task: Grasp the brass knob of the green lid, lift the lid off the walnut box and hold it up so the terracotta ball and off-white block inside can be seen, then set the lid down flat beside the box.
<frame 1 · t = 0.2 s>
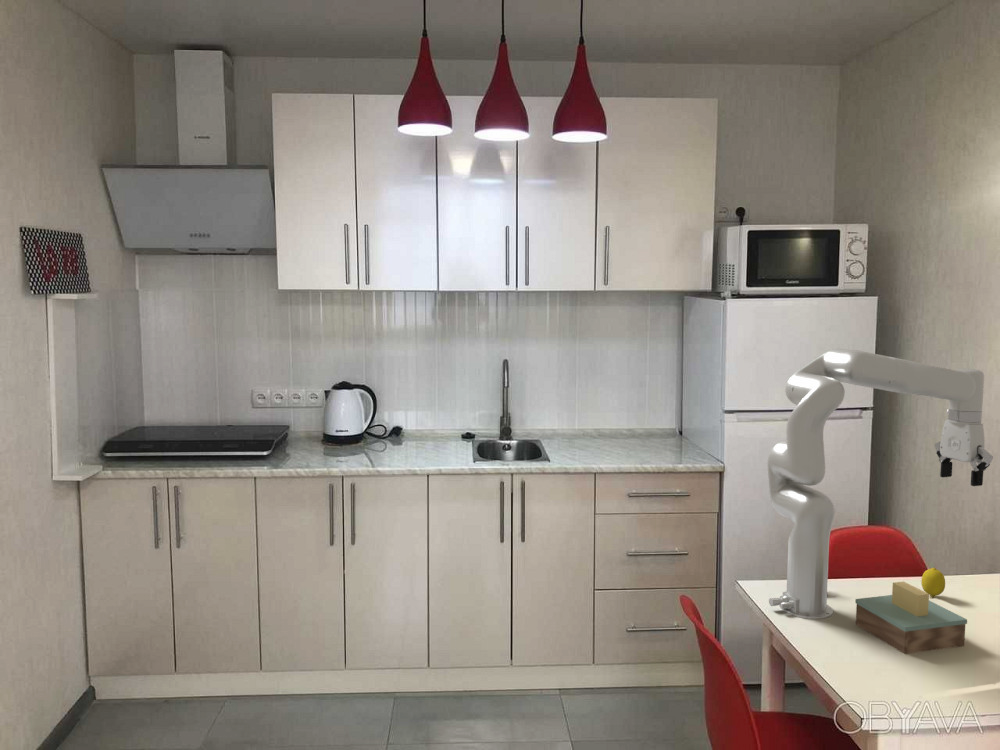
hand: (960, 481, 207), 31 cm above the table, tool pointing down, fingers open, 9 cm apart
box: (908, 637, 185), on the table
block: (932, 639, 182), point 1 cm above the table, touching box
lemon: (932, 597, 209), on the table
ball: (884, 629, 187), point 1 cm above the table, touching box
lid: (909, 613, 184), point 6 cm above the table, touching box
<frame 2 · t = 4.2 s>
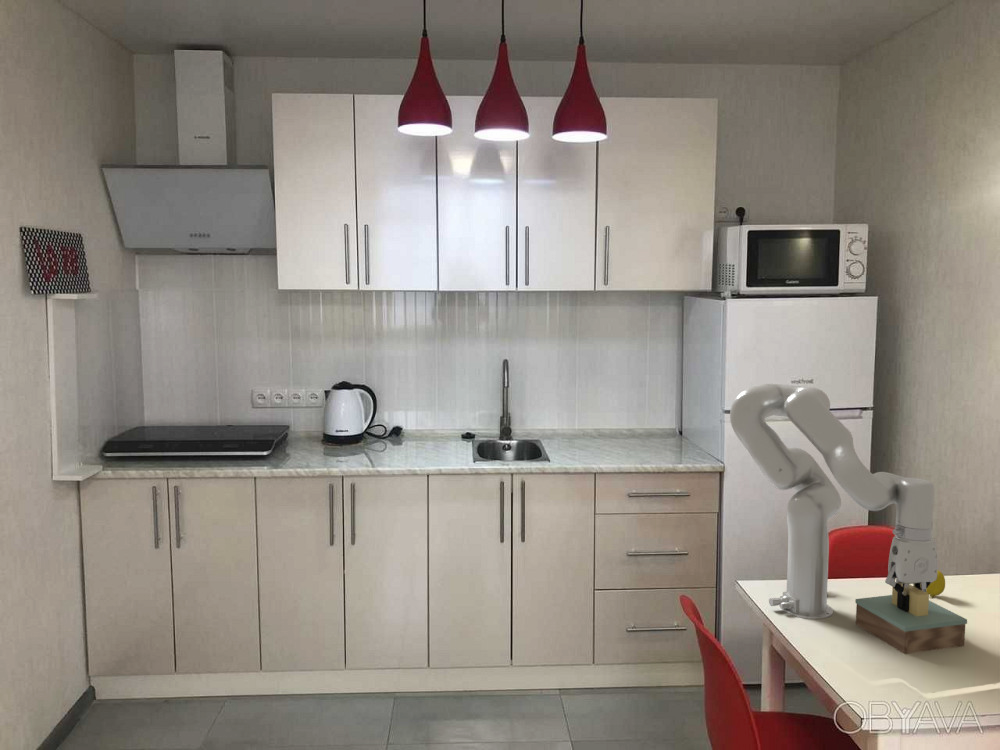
hand: (909, 608, 184), 7 cm above the table, tool pointing down, fingers closed on lid, 3 cm apart
lid: (909, 613, 184), point 6 cm above the table, touching box, gripper
everything else where it was.
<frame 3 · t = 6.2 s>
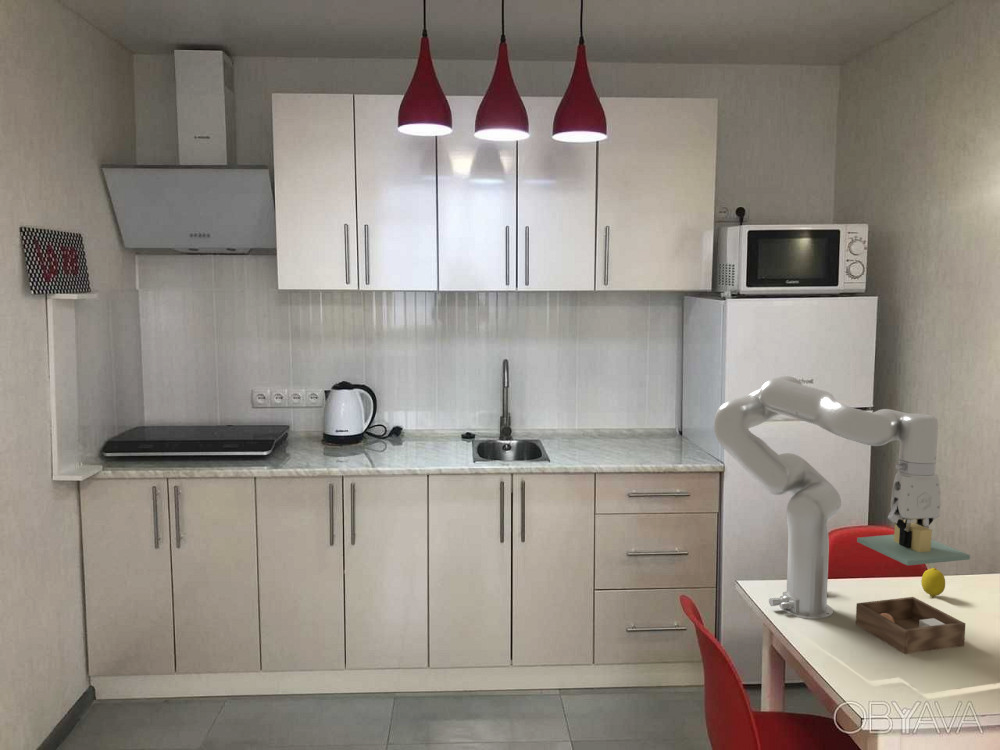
hand: (911, 545, 182), 22 cm above the table, tool pointing down, fingers closed on lid, 3 cm apart
lid: (911, 550, 183), point 21 cm above the table, touching gripper
everything else where it was.
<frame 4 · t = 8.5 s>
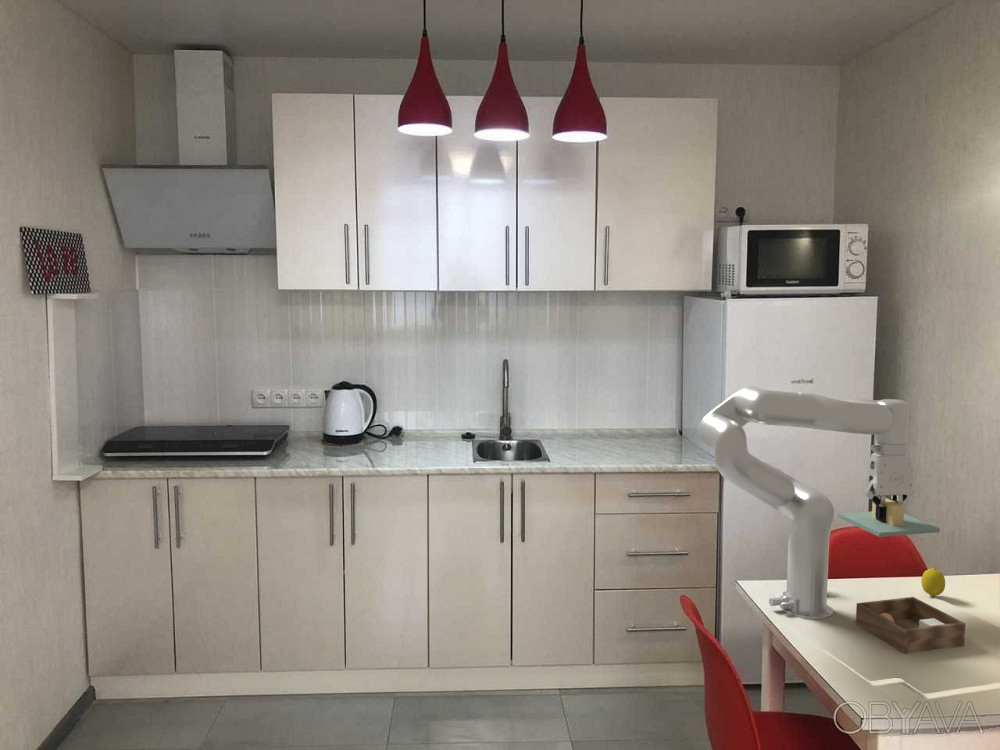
hand: (887, 519, 199), 23 cm above the table, tool pointing down, fingers closed on lid, 3 cm apart
lid: (887, 524, 199), point 22 cm above the table, touching gripper
everything else where it was.
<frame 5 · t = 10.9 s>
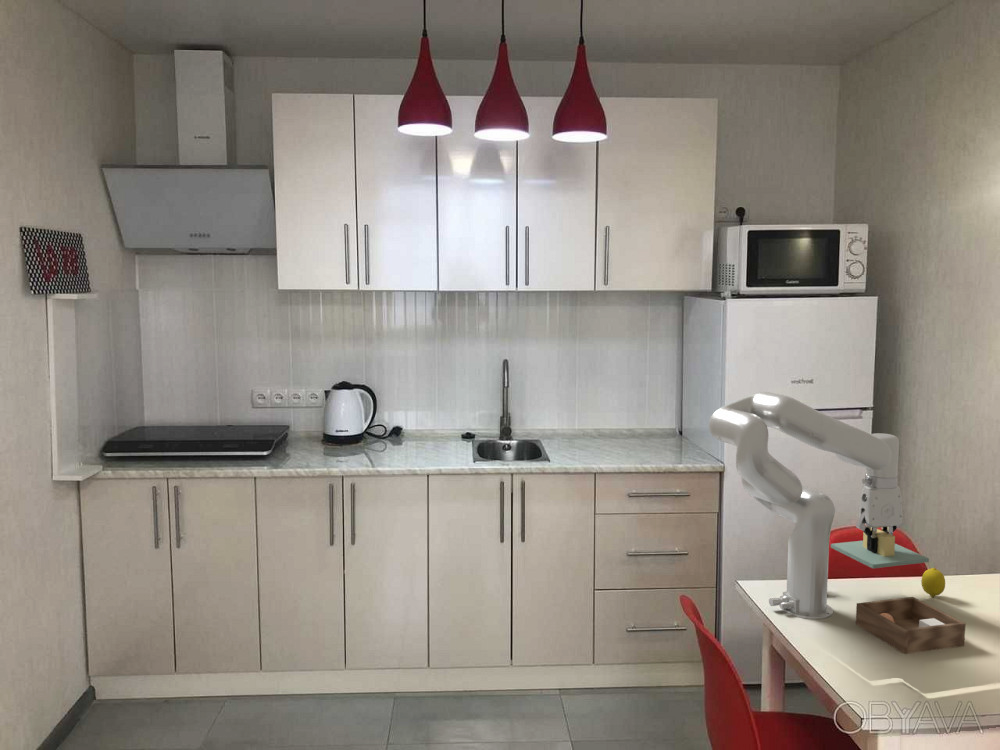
hand: (878, 550, 206), 14 cm above the table, tool pointing down, fingers closed on lid, 3 cm apart
lid: (878, 554, 206), point 12 cm above the table, touching gripper
everything else where it was.
when the fingers open (4 cm above the table, at t = 13.0 s): lid drops 3 cm, on the table.
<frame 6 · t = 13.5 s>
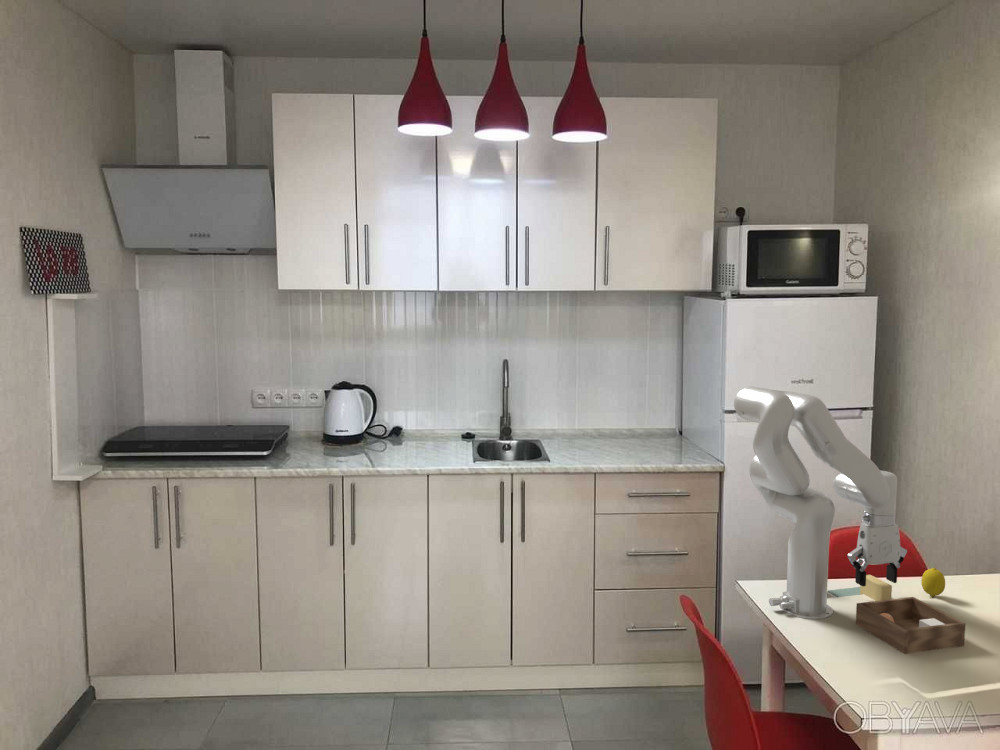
hand: (876, 582, 206), 5 cm above the table, tool pointing down, fingers open, 9 cm apart
lid: (875, 602, 207), on the table
everything else where it was.
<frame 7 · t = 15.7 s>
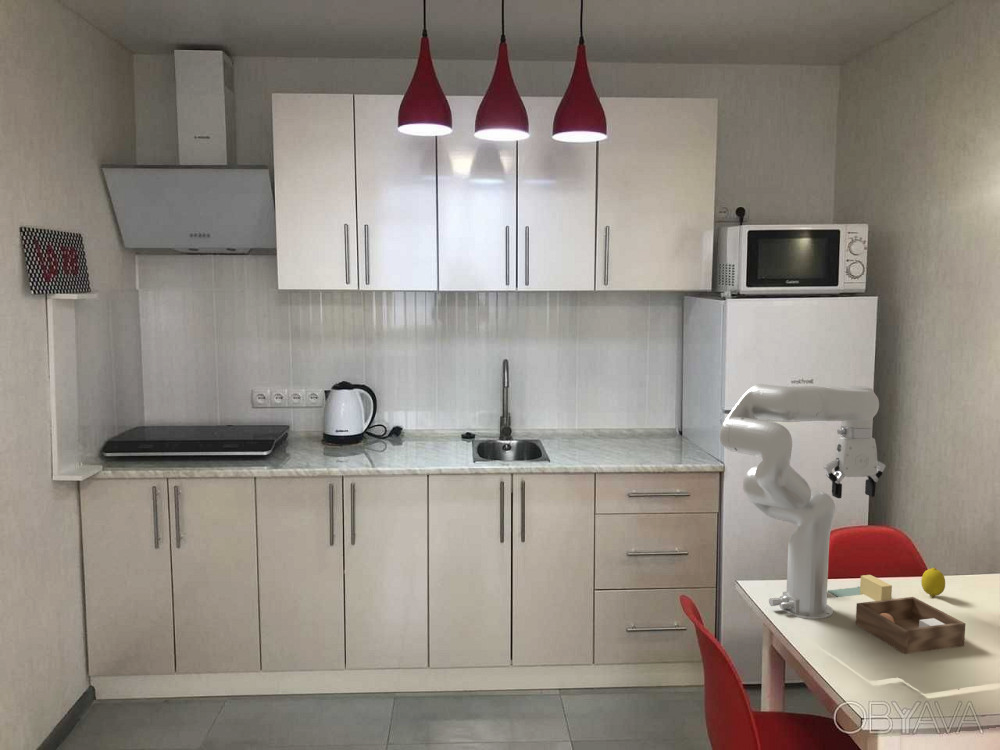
hand: (853, 496, 210), 26 cm above the table, tool pointing down, fingers open, 9 cm apart
nothing on the table moved.
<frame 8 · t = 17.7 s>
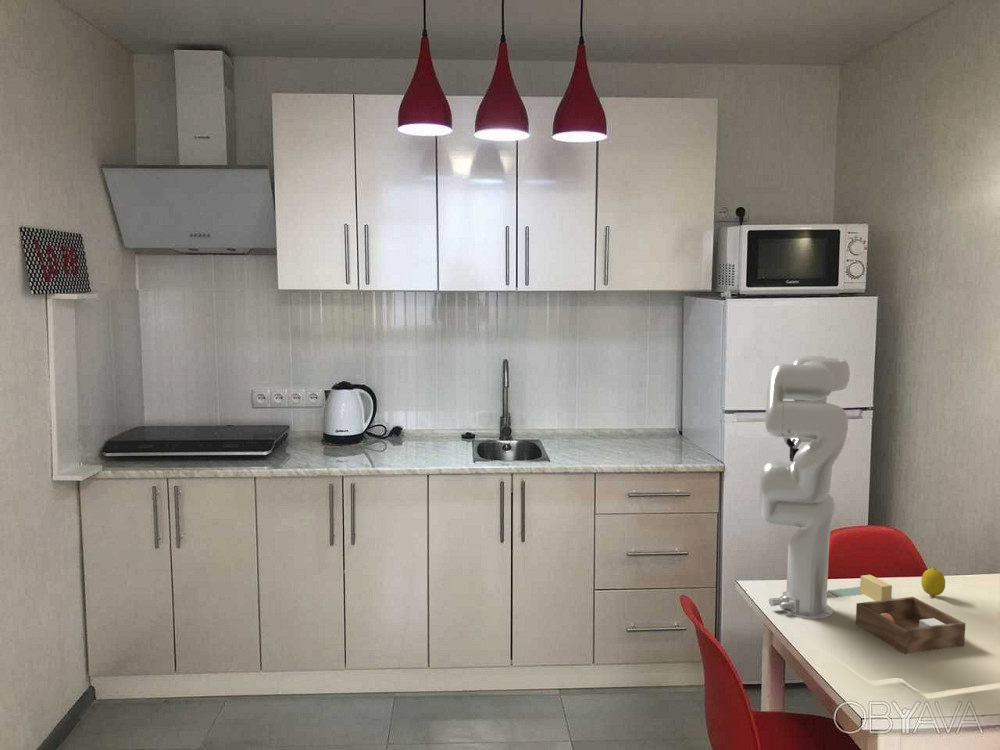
hand: (809, 460, 221), 33 cm above the table, tool pointing down, fingers open, 9 cm apart
nothing on the table moved.
at the end: lid inside the target area (0.0 cm from its centre), on the table; lid tilted 0°; the gripper is holding nothing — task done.
